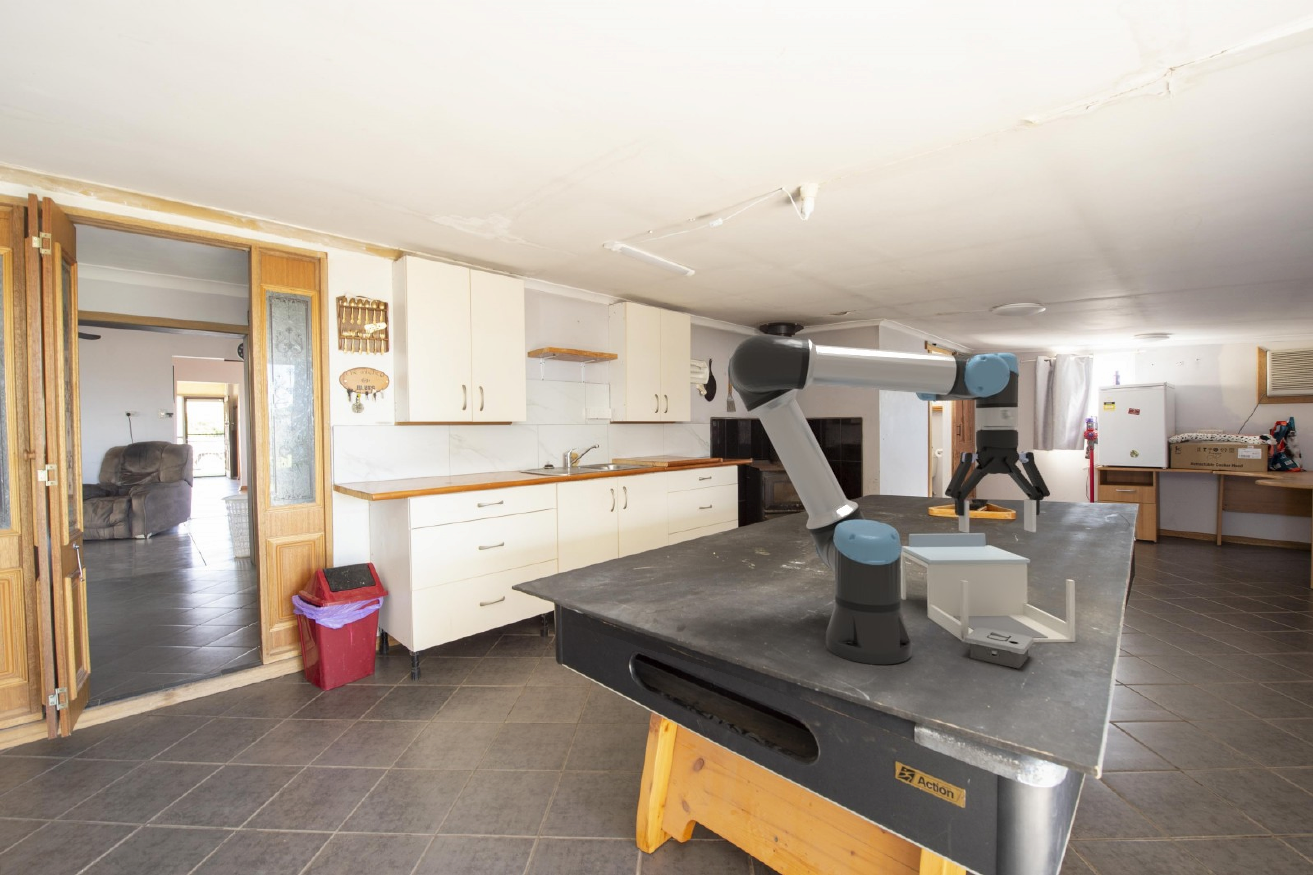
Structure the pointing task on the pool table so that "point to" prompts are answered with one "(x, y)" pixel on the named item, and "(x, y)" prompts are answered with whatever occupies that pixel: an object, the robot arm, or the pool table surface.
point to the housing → (989, 600)
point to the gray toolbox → (999, 646)
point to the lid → (958, 549)
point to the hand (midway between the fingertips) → (996, 531)
